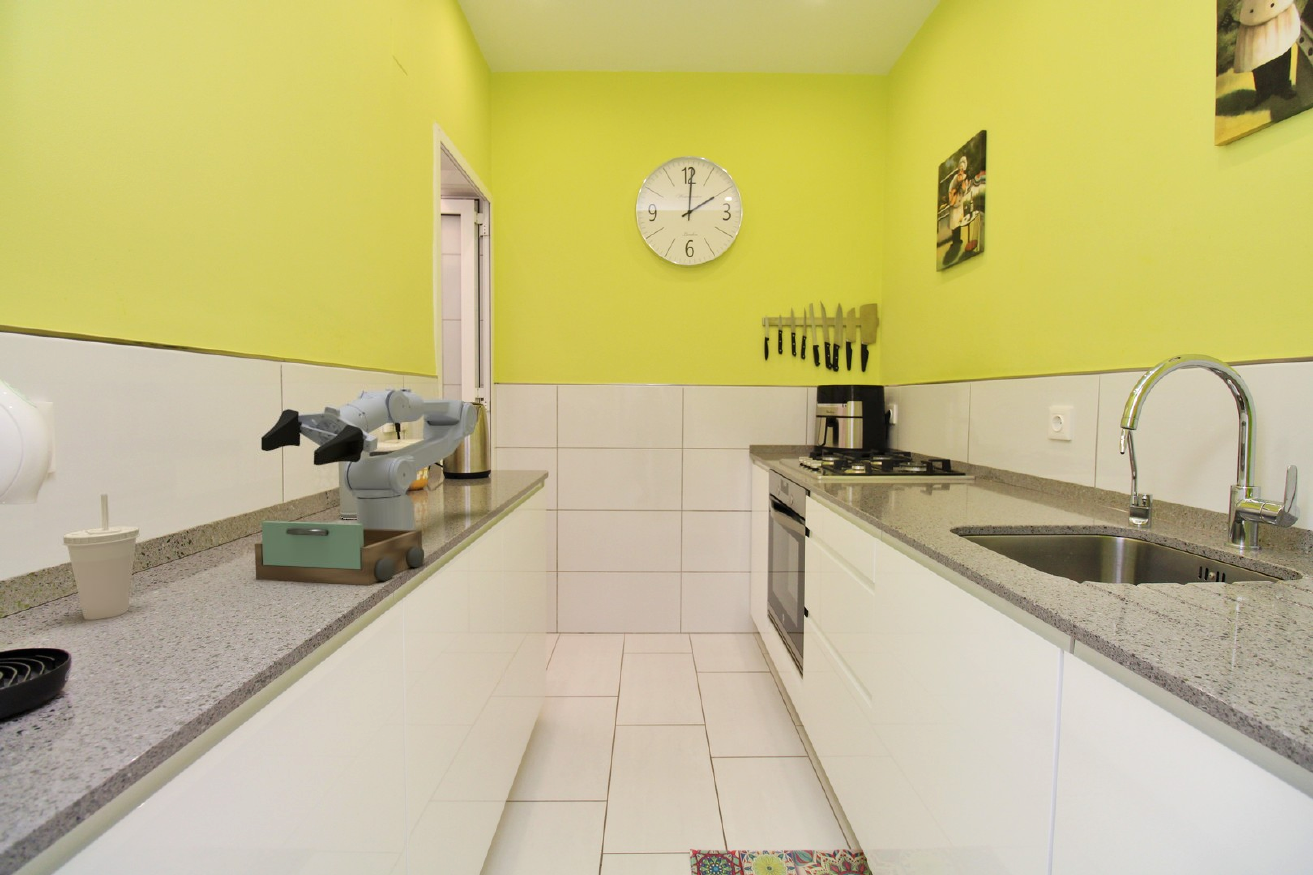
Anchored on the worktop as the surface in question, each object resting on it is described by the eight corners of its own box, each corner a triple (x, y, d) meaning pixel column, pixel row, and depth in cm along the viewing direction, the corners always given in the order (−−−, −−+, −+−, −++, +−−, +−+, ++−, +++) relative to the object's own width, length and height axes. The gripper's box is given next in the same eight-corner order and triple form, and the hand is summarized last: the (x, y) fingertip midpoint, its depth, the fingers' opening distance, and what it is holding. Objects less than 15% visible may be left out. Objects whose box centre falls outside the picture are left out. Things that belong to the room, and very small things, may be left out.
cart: (316, 557, 92) (315, 526, 92) (428, 562, 88) (427, 530, 88) (250, 578, 81) (248, 543, 80) (375, 585, 77) (374, 548, 77)
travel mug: (378, 515, 132) (376, 428, 131) (357, 520, 126) (354, 429, 125) (355, 514, 134) (352, 428, 133) (333, 519, 127) (330, 429, 126)
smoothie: (96, 625, 63) (89, 498, 62) (51, 621, 64) (44, 497, 64) (157, 606, 69) (152, 490, 69) (115, 603, 70) (110, 490, 70)
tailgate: (268, 563, 81) (266, 521, 81) (364, 567, 78) (362, 523, 78) (258, 566, 79) (256, 523, 79) (356, 570, 76) (354, 526, 76)
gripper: (308, 387, 91) (240, 410, 78) (395, 411, 91) (341, 438, 78) (307, 427, 94) (240, 457, 81) (391, 451, 93) (338, 484, 80)
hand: (289, 451), depth 80 cm, fingers open, 7 cm apart
